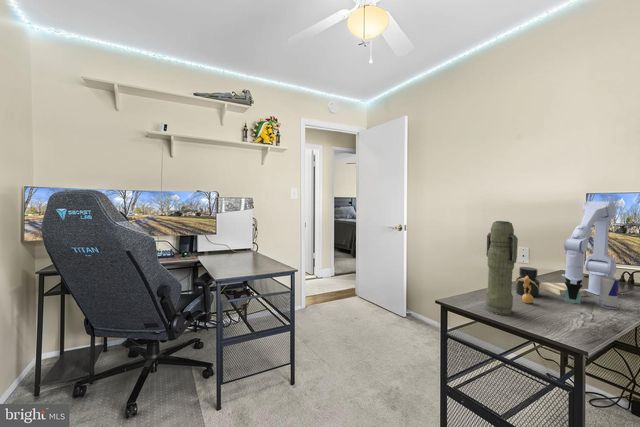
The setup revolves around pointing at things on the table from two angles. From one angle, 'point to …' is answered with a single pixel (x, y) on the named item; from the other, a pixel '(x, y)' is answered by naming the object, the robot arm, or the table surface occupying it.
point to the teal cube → (572, 299)
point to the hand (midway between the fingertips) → (572, 297)
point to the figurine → (526, 297)
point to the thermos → (500, 267)
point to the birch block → (558, 288)
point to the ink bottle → (532, 276)
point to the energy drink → (609, 292)
